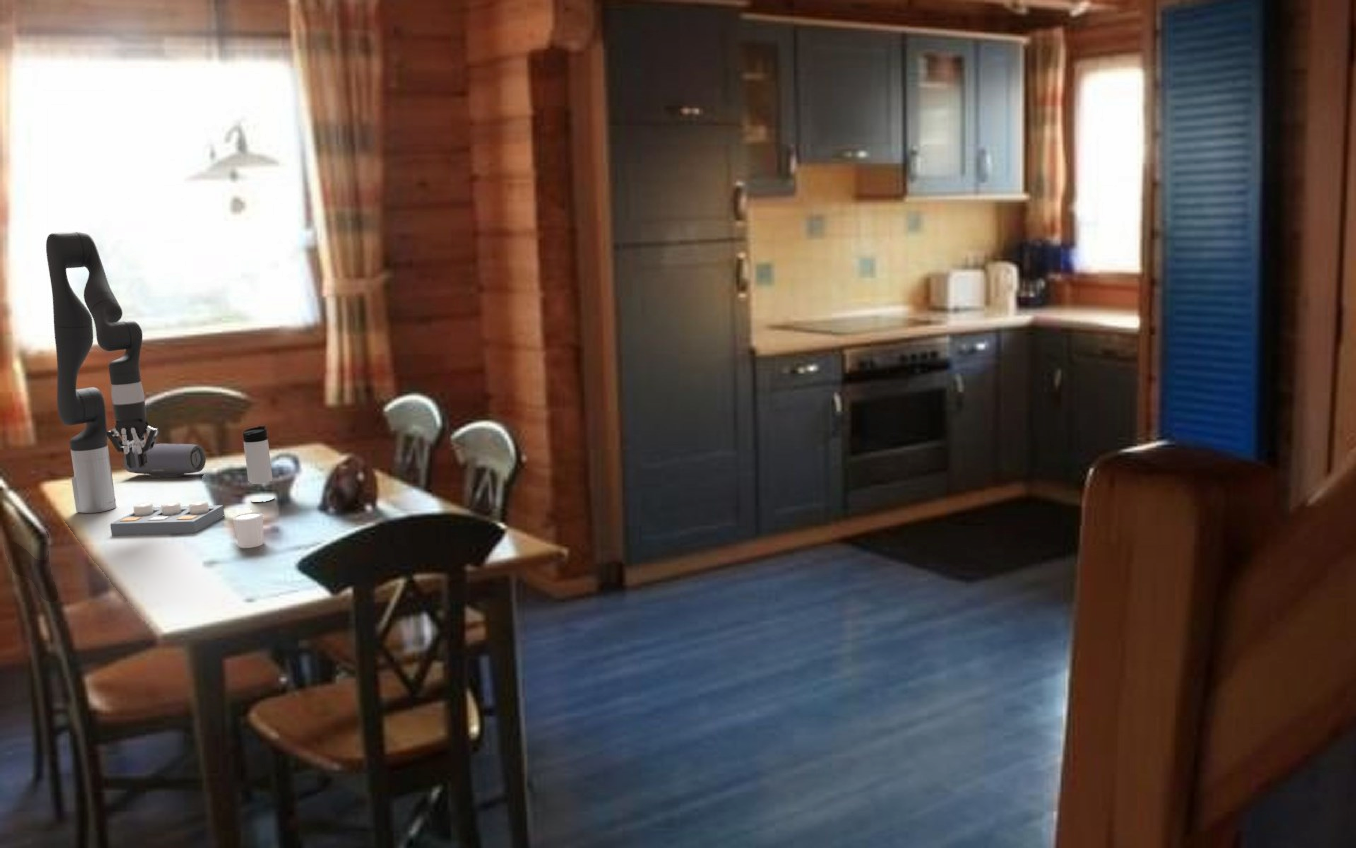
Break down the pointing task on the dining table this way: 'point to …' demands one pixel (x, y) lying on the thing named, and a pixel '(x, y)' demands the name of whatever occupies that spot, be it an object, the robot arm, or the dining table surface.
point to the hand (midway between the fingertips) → (137, 467)
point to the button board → (166, 522)
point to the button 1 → (143, 509)
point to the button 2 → (199, 508)
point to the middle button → (171, 509)
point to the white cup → (249, 529)
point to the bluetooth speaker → (170, 460)
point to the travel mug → (257, 455)
